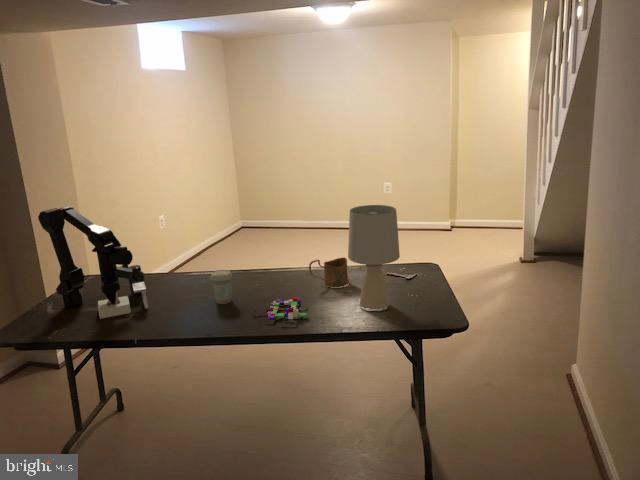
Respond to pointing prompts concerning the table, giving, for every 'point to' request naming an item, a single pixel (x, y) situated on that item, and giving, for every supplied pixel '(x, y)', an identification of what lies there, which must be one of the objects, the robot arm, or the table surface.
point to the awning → (141, 288)
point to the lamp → (373, 249)
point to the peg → (115, 300)
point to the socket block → (114, 307)
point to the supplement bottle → (136, 279)
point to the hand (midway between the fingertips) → (113, 301)
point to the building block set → (289, 312)
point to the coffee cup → (222, 285)
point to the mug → (334, 272)
